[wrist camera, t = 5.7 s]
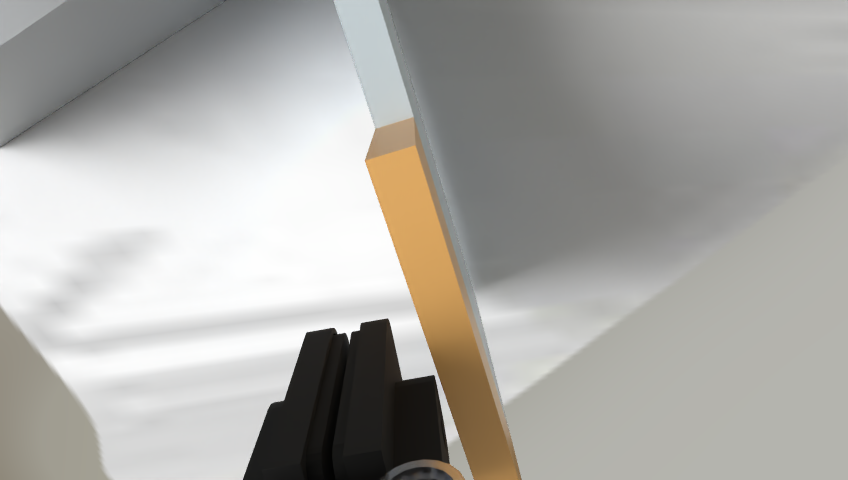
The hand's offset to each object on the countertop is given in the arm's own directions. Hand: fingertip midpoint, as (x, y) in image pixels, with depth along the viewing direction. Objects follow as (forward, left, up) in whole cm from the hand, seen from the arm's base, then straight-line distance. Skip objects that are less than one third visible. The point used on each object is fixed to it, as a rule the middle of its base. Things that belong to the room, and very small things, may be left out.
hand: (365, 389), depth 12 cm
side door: (-3, -2, -9) cm, 10 cm away
